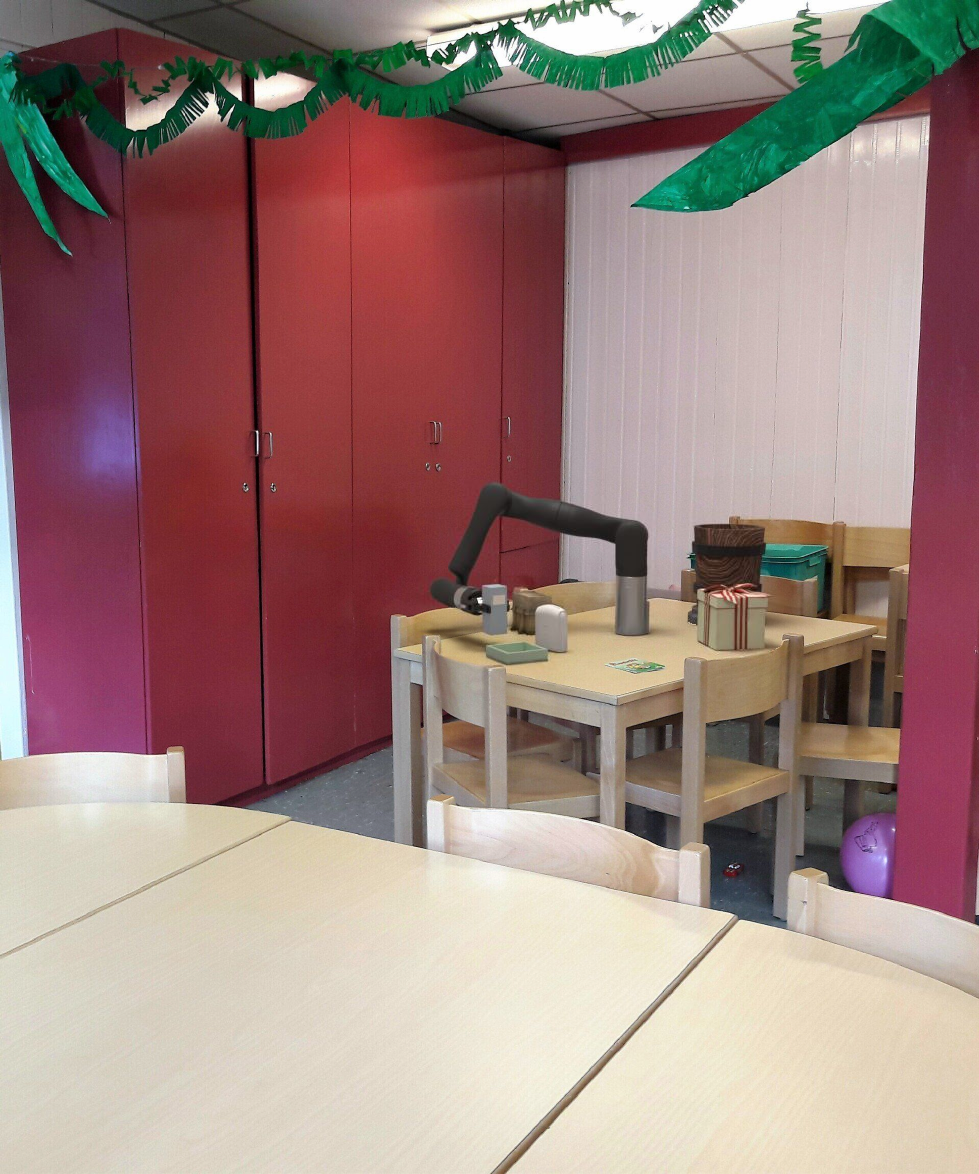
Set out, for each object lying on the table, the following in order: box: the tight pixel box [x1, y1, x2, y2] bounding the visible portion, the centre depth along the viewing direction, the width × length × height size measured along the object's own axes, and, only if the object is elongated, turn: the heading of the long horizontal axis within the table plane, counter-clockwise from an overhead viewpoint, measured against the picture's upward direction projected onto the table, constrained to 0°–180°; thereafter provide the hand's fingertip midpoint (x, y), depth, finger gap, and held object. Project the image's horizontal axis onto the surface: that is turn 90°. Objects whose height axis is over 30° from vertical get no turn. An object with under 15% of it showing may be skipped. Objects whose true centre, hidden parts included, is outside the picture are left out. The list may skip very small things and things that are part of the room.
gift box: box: [696, 583, 775, 651], centre depth 299 cm, size 17×18×17 cm
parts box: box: [481, 583, 508, 636], centre depth 294 cm, size 5×5×13 cm
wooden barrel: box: [687, 523, 767, 625], centre depth 337 cm, size 24×30×30 cm
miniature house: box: [509, 590, 564, 636], centre depth 322 cm, size 15×14×11 cm
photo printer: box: [534, 605, 568, 653], centre depth 295 cm, size 10×4×12 cm, turn 39°
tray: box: [485, 640, 549, 666], centre depth 284 cm, size 12×12×3 cm
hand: (499, 608), depth 292 cm, fingers closed on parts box, 5 cm apart
